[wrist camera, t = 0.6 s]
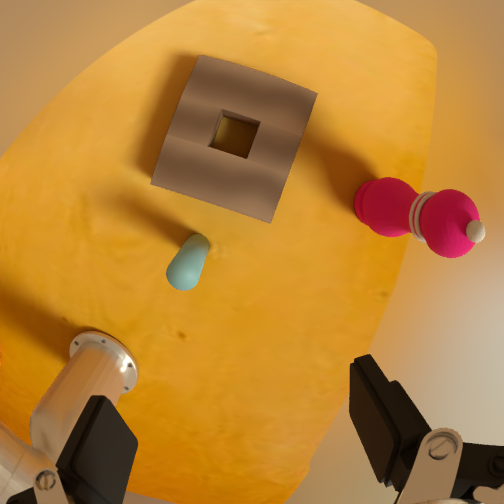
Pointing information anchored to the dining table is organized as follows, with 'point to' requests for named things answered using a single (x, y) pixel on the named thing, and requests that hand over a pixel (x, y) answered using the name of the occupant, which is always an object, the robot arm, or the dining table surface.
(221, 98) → the walnut hole block
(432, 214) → the pepper mill
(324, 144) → the dining table surface
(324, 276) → the dining table surface
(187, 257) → the teal peg
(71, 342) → the robot arm
